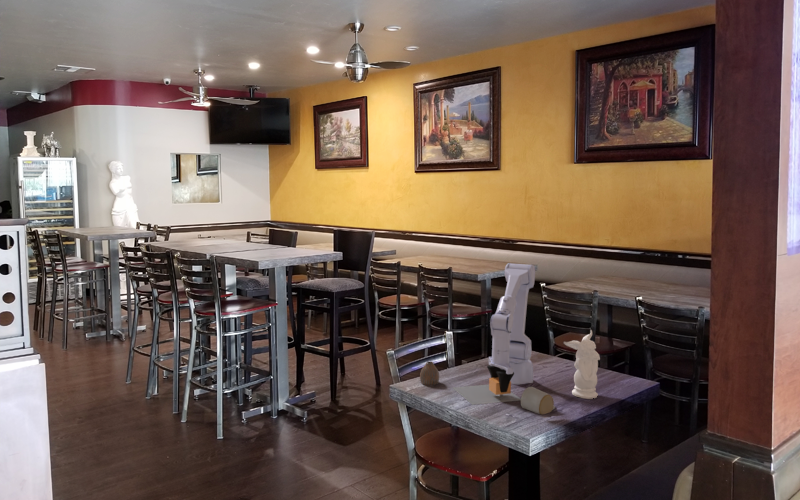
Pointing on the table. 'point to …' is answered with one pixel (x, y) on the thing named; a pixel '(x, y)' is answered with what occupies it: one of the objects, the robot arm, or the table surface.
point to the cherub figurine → (585, 367)
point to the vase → (429, 374)
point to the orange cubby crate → (497, 386)
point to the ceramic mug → (537, 401)
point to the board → (483, 395)
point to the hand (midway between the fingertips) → (499, 389)
